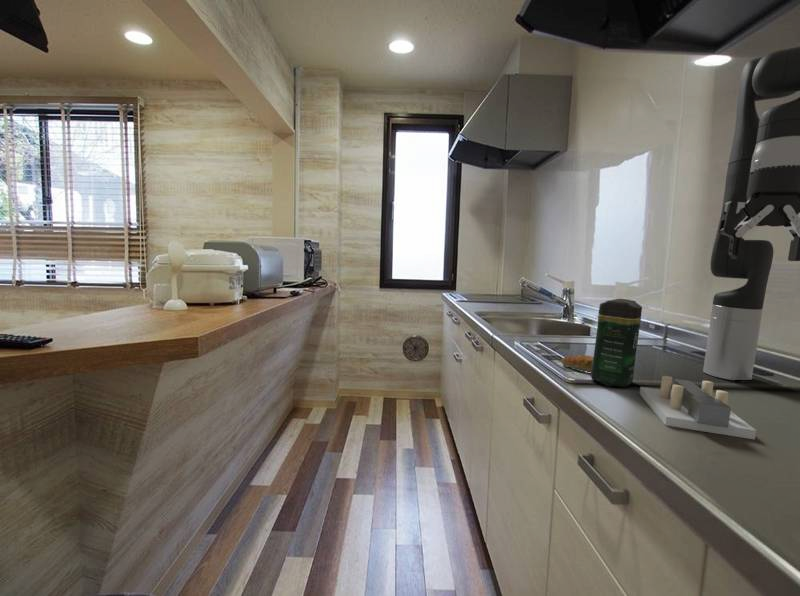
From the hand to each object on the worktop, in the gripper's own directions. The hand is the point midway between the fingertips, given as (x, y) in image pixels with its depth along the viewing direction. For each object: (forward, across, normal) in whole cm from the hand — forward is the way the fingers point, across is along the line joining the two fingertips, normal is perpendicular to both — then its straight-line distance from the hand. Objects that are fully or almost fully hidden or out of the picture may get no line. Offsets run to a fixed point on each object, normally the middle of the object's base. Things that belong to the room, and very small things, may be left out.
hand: (764, 259), depth 71 cm
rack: (+28, +11, +8) cm, 31 cm away
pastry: (+28, +26, -14) cm, 41 cm away
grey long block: (+27, +11, +10) cm, 30 cm away
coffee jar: (+28, +21, -7) cm, 36 cm away
